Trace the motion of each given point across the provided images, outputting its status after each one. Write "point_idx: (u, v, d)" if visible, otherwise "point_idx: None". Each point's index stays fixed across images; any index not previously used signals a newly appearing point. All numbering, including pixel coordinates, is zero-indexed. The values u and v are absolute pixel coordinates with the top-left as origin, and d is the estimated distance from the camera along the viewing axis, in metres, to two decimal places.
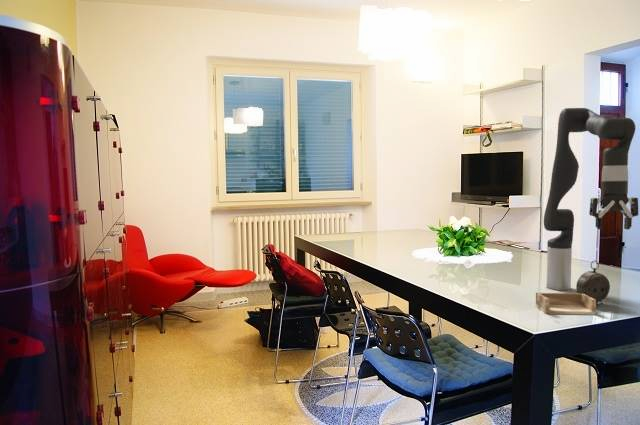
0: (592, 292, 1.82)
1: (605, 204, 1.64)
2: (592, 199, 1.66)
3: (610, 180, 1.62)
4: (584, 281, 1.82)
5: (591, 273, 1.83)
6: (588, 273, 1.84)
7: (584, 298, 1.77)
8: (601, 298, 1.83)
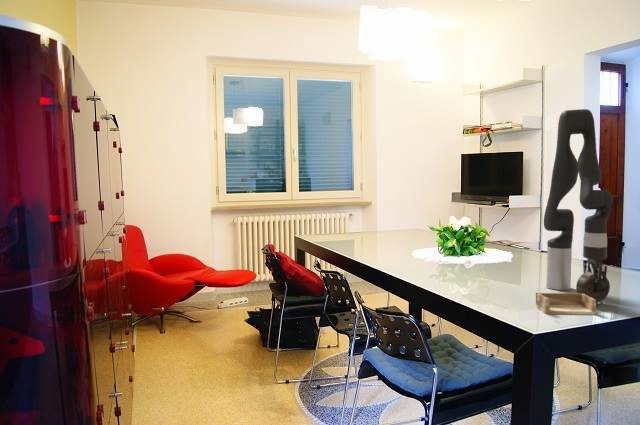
0: (592, 292, 1.82)
1: None
2: (603, 267, 1.77)
3: (606, 246, 1.80)
4: (584, 280, 1.82)
5: (591, 273, 1.83)
6: (588, 273, 1.84)
7: (584, 298, 1.77)
8: (601, 298, 1.83)
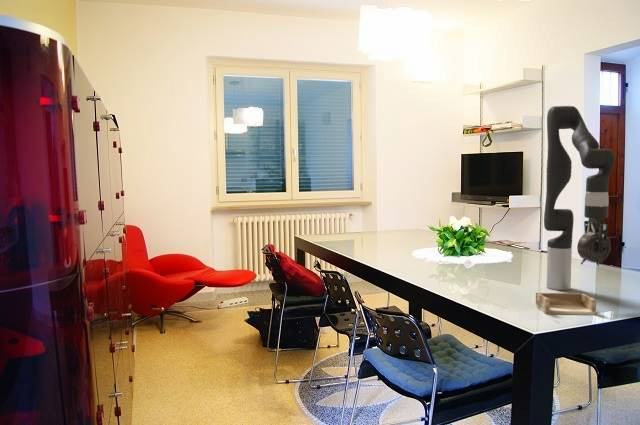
0: (593, 252, 1.81)
1: None
2: (604, 226, 1.76)
3: (607, 205, 1.79)
4: (585, 240, 1.81)
5: (592, 233, 1.82)
6: (589, 233, 1.83)
7: (584, 298, 1.77)
8: (602, 258, 1.82)
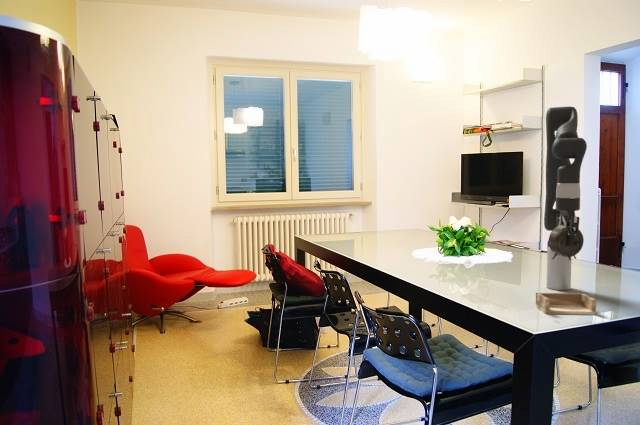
0: (565, 246, 1.72)
1: None
2: (575, 218, 1.67)
3: (579, 197, 1.71)
4: (557, 234, 1.72)
5: None
6: (561, 226, 1.74)
7: (584, 298, 1.77)
8: (574, 252, 1.73)
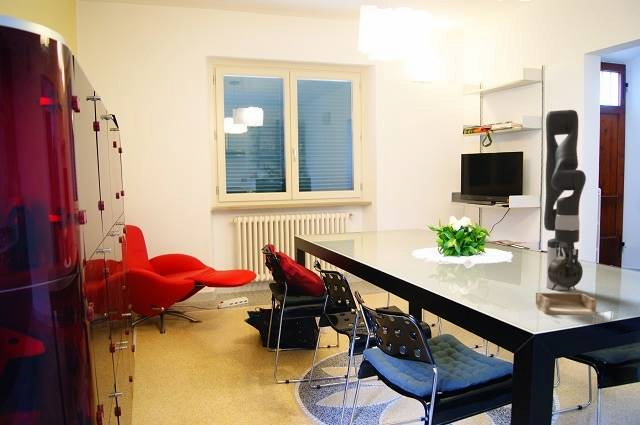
0: (564, 277, 1.73)
1: None
2: (574, 251, 1.68)
3: (578, 229, 1.71)
4: (556, 265, 1.73)
5: (563, 257, 1.74)
6: (560, 257, 1.75)
7: (584, 298, 1.77)
8: (573, 283, 1.74)
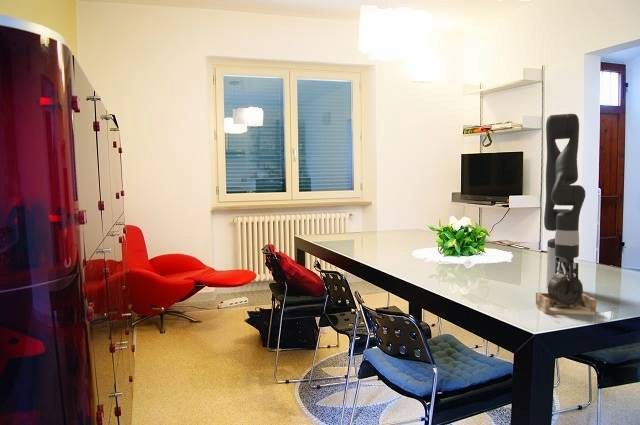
0: (563, 295, 1.73)
1: None
2: (574, 264, 1.68)
3: (578, 244, 1.72)
4: (555, 283, 1.74)
5: (563, 275, 1.75)
6: (560, 275, 1.75)
7: (584, 298, 1.77)
8: (573, 301, 1.74)
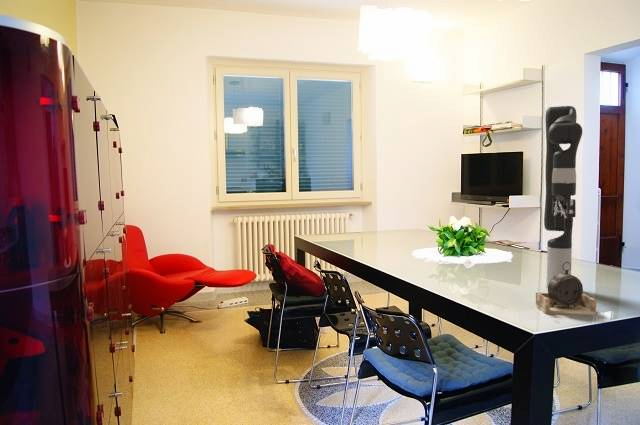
0: (563, 295, 1.73)
1: None
2: (571, 201, 1.68)
3: (575, 182, 1.72)
4: (555, 283, 1.74)
5: (563, 275, 1.75)
6: (560, 275, 1.75)
7: (584, 298, 1.77)
8: (573, 301, 1.74)
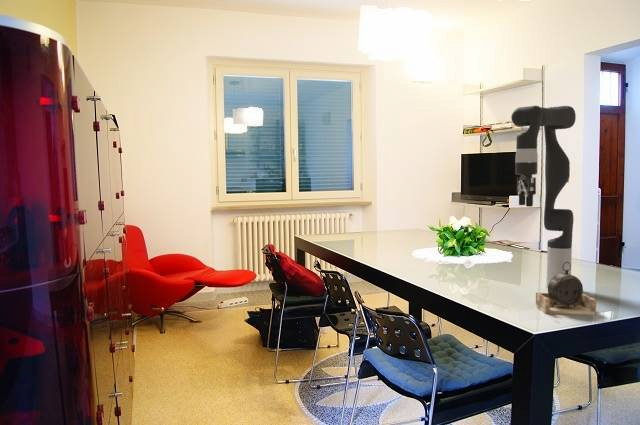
0: (563, 295, 1.73)
1: None
2: (532, 179, 1.79)
3: (536, 161, 1.82)
4: (555, 283, 1.74)
5: (563, 275, 1.75)
6: (560, 275, 1.75)
7: (584, 298, 1.77)
8: (573, 301, 1.74)
